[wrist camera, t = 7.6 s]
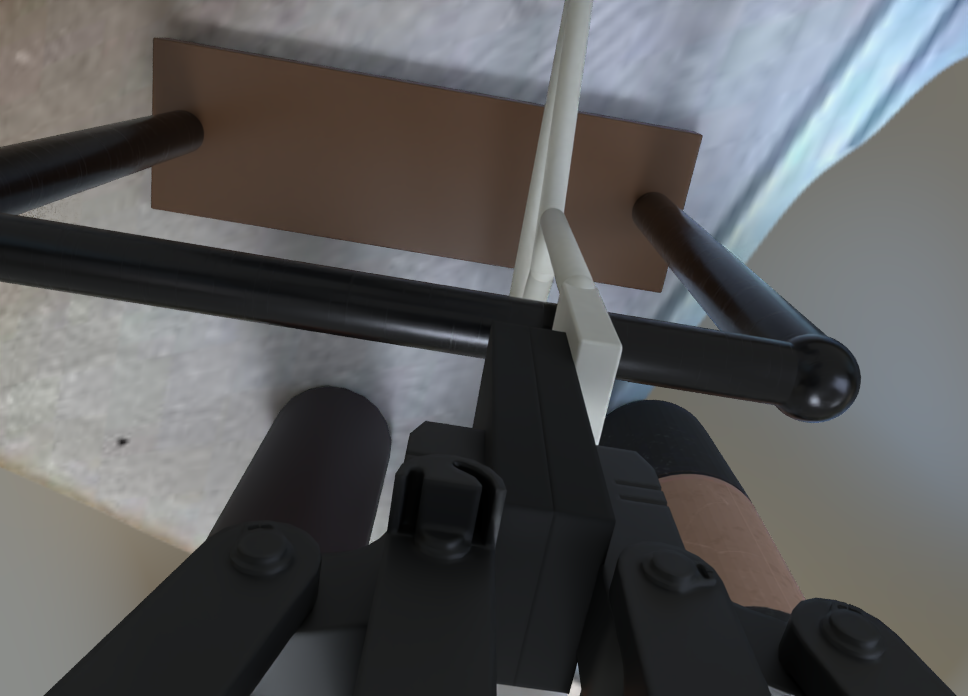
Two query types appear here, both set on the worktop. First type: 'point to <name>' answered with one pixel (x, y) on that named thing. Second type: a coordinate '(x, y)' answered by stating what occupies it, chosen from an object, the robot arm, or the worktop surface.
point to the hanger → (566, 228)
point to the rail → (404, 220)
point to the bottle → (317, 470)
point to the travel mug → (707, 503)
